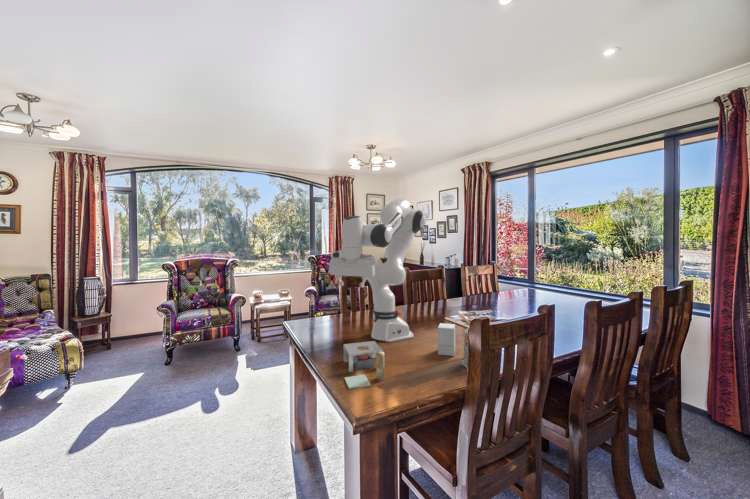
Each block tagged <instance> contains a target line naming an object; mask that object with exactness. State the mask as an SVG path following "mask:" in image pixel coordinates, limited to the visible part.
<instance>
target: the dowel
mask: <svg viewBox="0 0 750 499" xmlns="http://www.w3.org/2000/svg"><path fill="white" fill-rule="evenodd" d="M375 359H376V381H379V382H382V381H385V373H386V372H385V352H384V351H383V352H381V351H380V352H377V353H376V358H375Z"/></svg>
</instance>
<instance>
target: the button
mask: <svg viewBox="0 0 750 499" xmlns="http://www.w3.org/2000/svg"><path fill="white" fill-rule="evenodd" d="M358 359H359V360H364V359H369V354H364V355H358Z"/></svg>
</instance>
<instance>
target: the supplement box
mask: <svg viewBox="0 0 750 499" xmlns="http://www.w3.org/2000/svg"><path fill="white" fill-rule="evenodd" d="M455 353H456V324H455V323H454V324H453V323H441V322H440V323H439V325H438V326H437V355H441V356H448V357H455Z"/></svg>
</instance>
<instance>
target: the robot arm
mask: <svg viewBox="0 0 750 499" xmlns="http://www.w3.org/2000/svg"><path fill="white" fill-rule="evenodd" d="M379 216H380V220H381V222H382V223H380V224H375V223H373V224H367V223H365V222H364V221H363V218H362V216H360V215H352V216H346V217H344V218H343V221H342V225H341V238H342V243H341V249H340V250H337V251H334V252H331V253H330V258H331V259H330V260H329V266H328V273H329V275H331V276H336V279H337V281H338V286H339V287H344V285H345V281H343V280H342V277H343V276H344V277H345V276H346V277H361V280H362V281H361V282H360V283H359V284H358V285H359V288H364V287H365V283H366V281H367V282H368V283H369V285H370V288H371V290H372V291H371V292H372V293H373V294H372V295H373V312H372V320H373V322H372V323H373V326H372V331H371V335H370V337H371V339H373V340H375V341H377V340H378V341H383V342H387V343H391V342H392V343H393V342H397V341H402V340H403V341H404V340H408V339H409V340H410V339H413V338H414V333H413V332H412V331H411V330H410V327H409V324H408V323H407V322H406V321H405V320H403V319H402V318H401V317H399V316H402V314H403V313H402V312H401V311H399V310H397V309H396V296H395V294H394V293H393V291H392V290H391V289H390V286H399V285H400V286H401V285H402V284H403V283H404V282H405V281H406V278H407V272H406V270H405V268H404V261H405V258H406V255H407V254H408V251H409V250H410V248H411V246H412V243H413V241H414V236H415V234H417V233H418V232H420V231H421V230H422V229H423V228H424V227H425V225H426V222H427V215H426V213H425V212H424V211H422V210H418V209H414V208H411V205H410V202H409V201H408V200H407V199H406V198H405V199H404V198H398V199H394V200H393V201H391V202H389V203H387V204H386V205H384V206H383V207H382V209H381V210H380V214H379ZM363 247H376V248H382V249H383V248H385V252H384V253H385V256H386V257H387V259H386V261H385V262H376V257H374V256H373V255H372V254H363Z"/></svg>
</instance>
